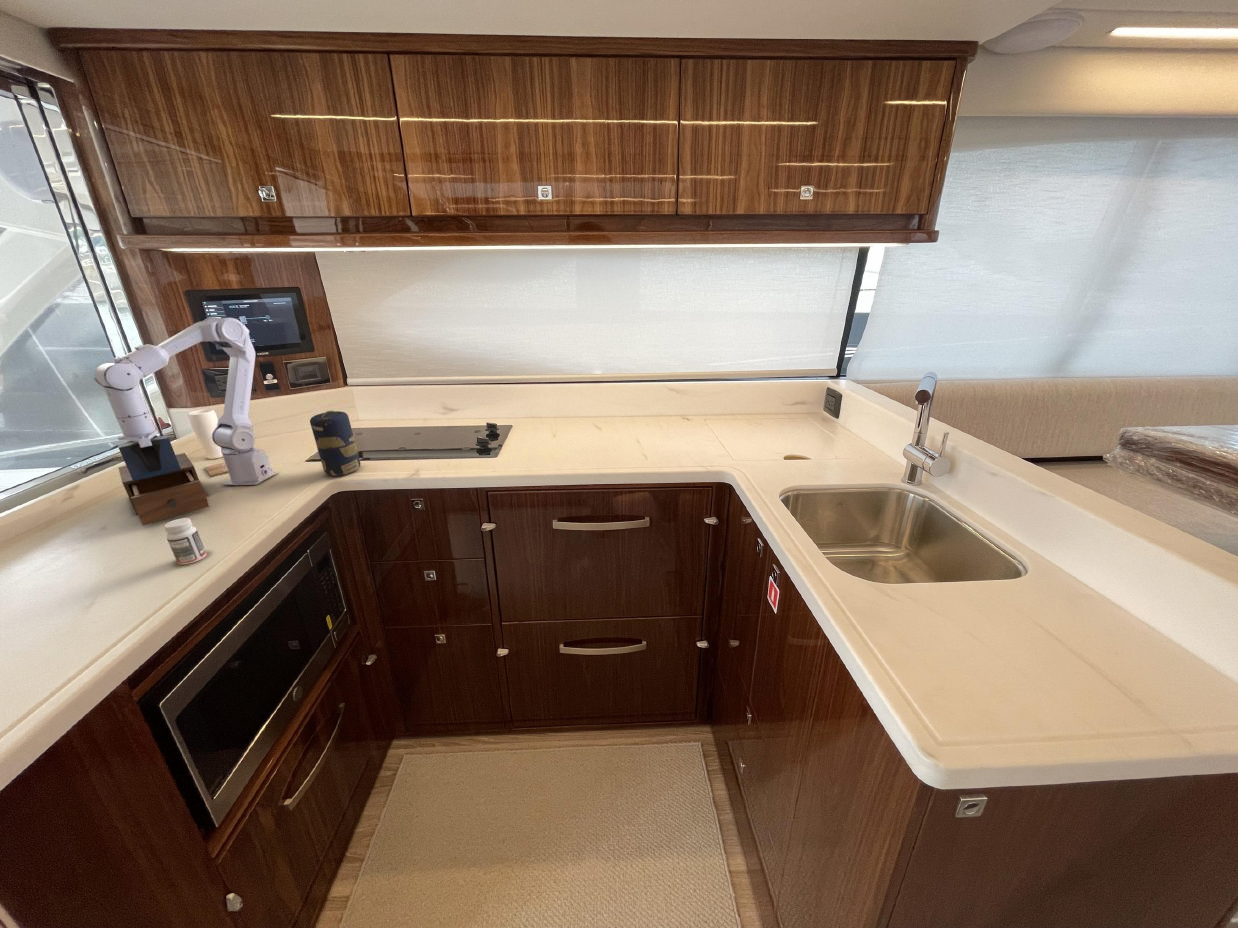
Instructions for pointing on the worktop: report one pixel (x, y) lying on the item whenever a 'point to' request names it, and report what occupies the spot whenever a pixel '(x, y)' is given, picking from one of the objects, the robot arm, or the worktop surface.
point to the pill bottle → (184, 541)
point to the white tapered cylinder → (205, 431)
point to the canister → (335, 442)
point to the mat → (217, 469)
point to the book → (139, 468)
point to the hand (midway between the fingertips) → (154, 468)
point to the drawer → (167, 497)
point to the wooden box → (127, 480)
